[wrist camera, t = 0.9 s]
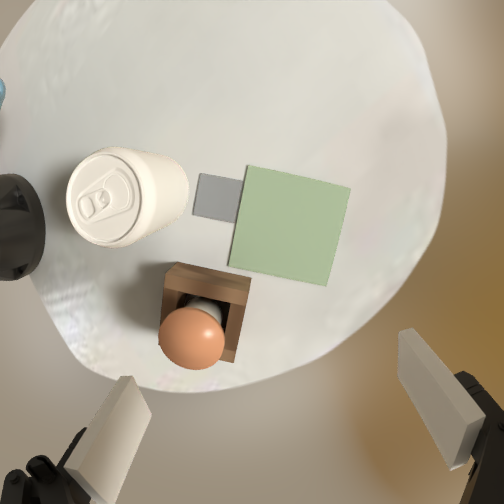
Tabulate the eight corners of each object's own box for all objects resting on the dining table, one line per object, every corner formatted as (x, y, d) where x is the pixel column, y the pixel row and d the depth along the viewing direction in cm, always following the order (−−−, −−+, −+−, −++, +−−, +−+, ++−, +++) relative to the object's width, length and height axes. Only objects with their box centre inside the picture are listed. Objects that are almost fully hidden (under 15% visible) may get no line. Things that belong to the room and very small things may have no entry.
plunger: (173, 332, 33) (156, 360, 27) (179, 282, 32) (161, 304, 26) (226, 344, 33) (218, 375, 27) (235, 295, 32) (228, 320, 26)
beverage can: (202, 211, 33) (166, 228, 21) (139, 238, 34) (83, 266, 22) (174, 142, 31) (127, 126, 20) (113, 173, 32) (49, 175, 21)
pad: (228, 265, 34) (228, 266, 34) (248, 165, 32) (248, 165, 31) (325, 285, 34) (326, 286, 34) (350, 188, 32) (350, 188, 31)
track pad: (193, 214, 33) (193, 214, 33) (201, 173, 32) (200, 173, 32) (234, 222, 33) (234, 223, 33) (242, 181, 32) (242, 181, 32)
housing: (169, 327, 36) (158, 344, 32) (177, 261, 34) (165, 273, 30) (237, 342, 36) (233, 363, 32) (251, 277, 34) (248, 292, 30)
